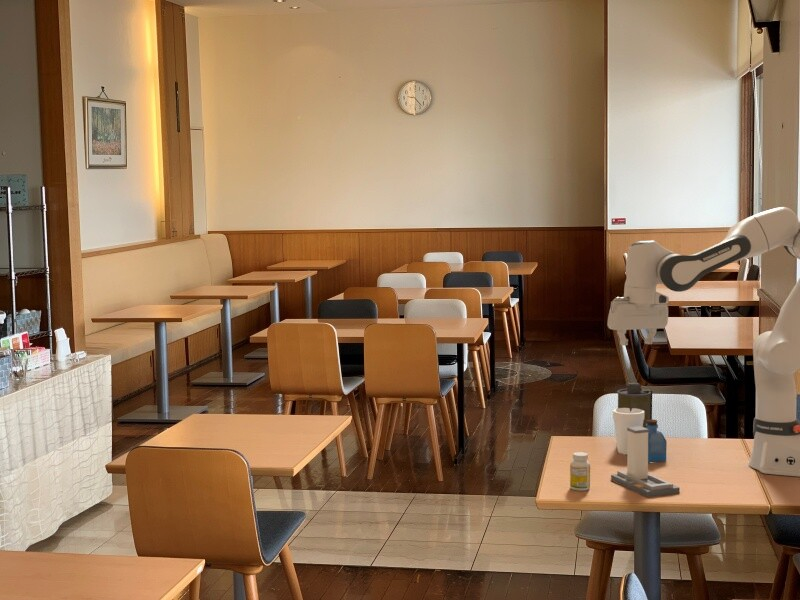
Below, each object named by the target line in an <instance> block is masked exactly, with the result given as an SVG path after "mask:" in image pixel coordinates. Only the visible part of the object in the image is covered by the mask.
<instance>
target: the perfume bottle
mask: <svg viewBox="0 0 800 600" xmlns="http://www.w3.org/2000/svg"><path fill="white" fill-rule="evenodd" d="M646 428H647V429H649V432H648V462H655V463H661V462H660V461H664V462H667V448H668V447H667V444H668V443H667V439H666V438H665V436H664V434H663V433H662V432H661V431H659V430H658V428H659V424H658V420H657V419H653V418H652V419H649V420H647V424H646Z"/></svg>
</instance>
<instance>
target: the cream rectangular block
mask: <svg viewBox="0 0 800 600" xmlns="http://www.w3.org/2000/svg"><path fill="white" fill-rule="evenodd" d="M627 431H628V442H627V455H626V456H627V458H626V459H627V461H626V462H627V465H626V467H627V469H626V471H627V474H629V475H631V476H633V477H636V478H638V479H647V478H648V473H649V463H648V432H649V429H647V428H644V427H641V426H637V427H627Z"/></svg>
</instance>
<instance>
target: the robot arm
mask: <svg viewBox="0 0 800 600" xmlns="http://www.w3.org/2000/svg"><path fill="white" fill-rule="evenodd" d="M727 231H728V232H727V233H726V236H725V238H724V239H723V240H721V241H720V242H719V243H717V244H714V245H712V246H709V247H707V248H706V249H703V250H702V251H698V252H697V253H694V254H685V255H684V254H679V253H676V252H674V251H672V250H669V249H668V248H666V247H664V246H662V245H661V244H659V243H658V241H656V240H653V239H649V240H646V239H645V240H640V241H634V242H633V243H631V245H630V246H629V248H628V250H627V256H626V263H625V272H626V273H625V274H626V279H625V282H624V289H623V292H624V293H623V296H621V297H620V296H617V297H616V296H615V298H614V299H613V300H612V301H610V309H609V313H608V316H607V323H606V324H607V328H608V329H610V330H613V331H617V332H616V333H617V335H618V337H619V345H620V346H628V345H629V343H628V342H629V339H628V338H627V337H626V334H627V331H628V330H633V331H634V330H647V332H648V334H647V336H646V337H644V341H643V343H644V344H645V345H652V344H653V339H654V337H655V336H656V334H657V330H658V329H666V327H667V325H668V322H669V306H668V305H667V304H669V300H670V298H669V296H668V295H665V294H663V293H660V292H658V291H657V285H660V284H661V285H663V286H664V287H666V289H669V290H670V291H672V292H678V293H679V292H680V293H681V292H685V291H688V290H690V289H691V288H692V287H694V286H695V285H696V284H697V283H698V282H699V281H700V279H702V278H703V277H704V276H706V275H707V274H709V273H712V272H714V271H716V270H719V269H720V268H722V267H725V266H728V265H729V264H732V263H733V262H738V261H742V260H746V259H750V258H754V257H757V256H759V255H762V254H766V253H767V252H771V251H772V250H774V249H776V248H779V247H783V248H784V249H785V250H786V252H787V253H788V254H789V255H790V256H791V257H793V258H796V259H798V260H800V220H799V217H798V216H797V214H796V212H794V211H793V210H792V209H791V208H790V207H787V206H780V207H779V206H778V207H775V208H772V209H768V210H764V211H761V212H758V213H755V214H753V215H751V216H748V217H746V218H744V219H742V220H740V221H738V222H737V223H735V224H734V225H732V226H731V227H730V228H729V229H728V230H727ZM772 328H773V329H772V330H767V331H764V332H762V333H761V334H758V336H757V337H756V338H755V340H754V342H753V344H752V345H753V346H752V355H753V356H752V357H753V371H754V372H753V373H754V384H755V417H754V418H753V425H752V427H753V428H752V429H753V430H752V433H753V437H754V438H753V445H752V451H751V455H750V458H749V461H748V466H749V467H751V468H753V469H755V470H757V471H759V472H760V473H762V474H765V475H766V474H769V475H777V476H778V475H779V476H792V477H798V478H799V477H800V420H798V419H797V388H796V383H795V381H796V380H795V376H794V375H795V373H796V372H798V370H800V278H799V279H798V280H797V282H796V283H795V285H794V286H793V288H792V290H791V291H790V293H789V294H788V296H787V298H786V299H785V301H784V302H783V304H782V306H781V307H780V310H779V313H778V316H777V319H776V322H775V324H774V326H773V327H772Z"/></svg>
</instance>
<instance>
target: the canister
mask: <svg viewBox="0 0 800 600" xmlns="http://www.w3.org/2000/svg"><path fill="white" fill-rule="evenodd" d="M625 386H627V387H626V388H622V389H621V388H620V389H618V390H617V391H616V392H617V408H630V412H631V411H632V408H636V409H642V410H644V420H643V427H644V428H646V424H647V420H649V419H653V390H651V389H649V388H648V389H644V388H642V386H641V383H638V382H626V383H625Z"/></svg>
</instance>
